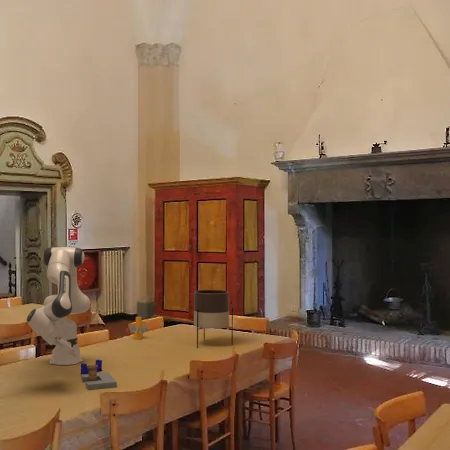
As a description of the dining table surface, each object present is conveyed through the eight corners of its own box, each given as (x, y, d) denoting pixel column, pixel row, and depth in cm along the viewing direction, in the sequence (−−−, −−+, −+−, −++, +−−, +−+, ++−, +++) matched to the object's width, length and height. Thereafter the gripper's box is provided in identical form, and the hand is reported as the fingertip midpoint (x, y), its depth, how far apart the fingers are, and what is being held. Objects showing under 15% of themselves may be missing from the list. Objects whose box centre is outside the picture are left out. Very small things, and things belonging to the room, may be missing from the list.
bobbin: (85, 382, 297) (86, 365, 297) (97, 381, 299) (97, 364, 299) (87, 385, 292) (87, 367, 292) (99, 384, 294) (99, 366, 294)
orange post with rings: (150, 338, 413) (150, 316, 413) (140, 340, 404) (140, 318, 404) (136, 336, 419) (136, 315, 419) (126, 338, 411) (127, 317, 410)
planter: (216, 350, 375) (217, 295, 375) (184, 346, 388) (184, 292, 388) (237, 343, 398) (237, 291, 397) (206, 339, 411) (206, 288, 410)
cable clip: (86, 376, 311) (86, 364, 311) (80, 374, 314) (80, 363, 313) (103, 371, 320) (103, 360, 320) (98, 370, 323) (98, 359, 323)
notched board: (81, 379, 303) (81, 374, 303) (108, 377, 309) (108, 372, 309) (87, 389, 285) (87, 384, 285) (116, 387, 290) (116, 382, 290)
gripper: (62, 335, 280) (82, 354, 284) (56, 327, 299) (76, 345, 302) (52, 345, 278) (73, 364, 282) (47, 337, 297) (67, 355, 301)
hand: (74, 354), depth 292 cm, fingers open, 8 cm apart
